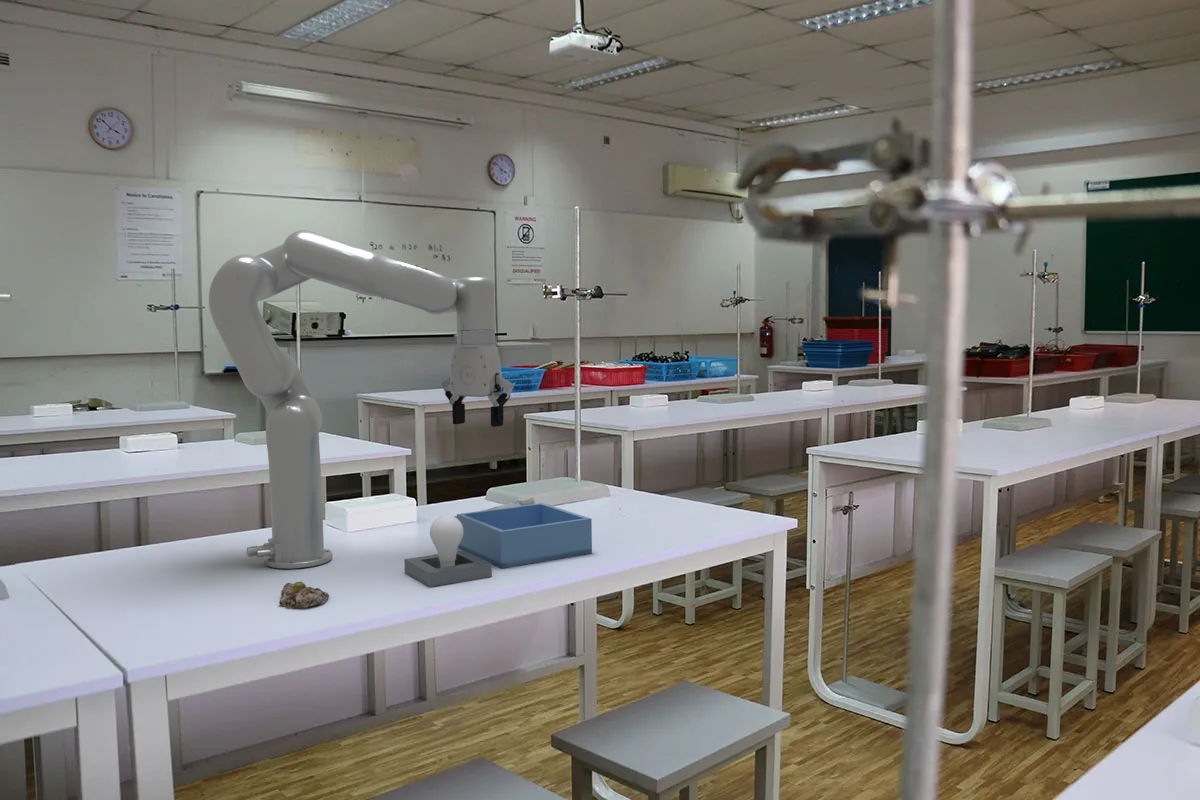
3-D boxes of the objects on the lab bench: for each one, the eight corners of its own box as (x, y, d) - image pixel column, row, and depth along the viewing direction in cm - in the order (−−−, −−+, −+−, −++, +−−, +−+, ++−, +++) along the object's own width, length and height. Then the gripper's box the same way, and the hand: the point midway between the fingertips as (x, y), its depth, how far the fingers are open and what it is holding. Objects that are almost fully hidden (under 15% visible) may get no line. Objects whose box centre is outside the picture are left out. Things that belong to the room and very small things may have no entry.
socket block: (429, 587, 167) (429, 573, 167) (404, 572, 177) (404, 559, 177) (491, 576, 173) (491, 563, 173) (464, 562, 183) (463, 550, 183)
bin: (501, 568, 179) (500, 531, 178) (457, 547, 195) (456, 514, 195) (592, 553, 189) (591, 518, 189) (542, 534, 206) (542, 503, 206)
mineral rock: (341, 589, 159) (296, 585, 154) (336, 616, 158) (290, 612, 153) (313, 579, 167) (269, 575, 162) (308, 604, 166) (264, 601, 161)
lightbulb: (432, 580, 171) (430, 520, 170) (429, 571, 177) (427, 513, 176) (466, 577, 173) (465, 517, 172) (462, 569, 179) (460, 511, 178)
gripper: (430, 339, 191) (432, 424, 192) (499, 340, 182) (500, 429, 183) (454, 338, 197) (456, 421, 199) (522, 339, 188) (523, 425, 190)
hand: (477, 424), depth 191 cm, fingers open, 9 cm apart
